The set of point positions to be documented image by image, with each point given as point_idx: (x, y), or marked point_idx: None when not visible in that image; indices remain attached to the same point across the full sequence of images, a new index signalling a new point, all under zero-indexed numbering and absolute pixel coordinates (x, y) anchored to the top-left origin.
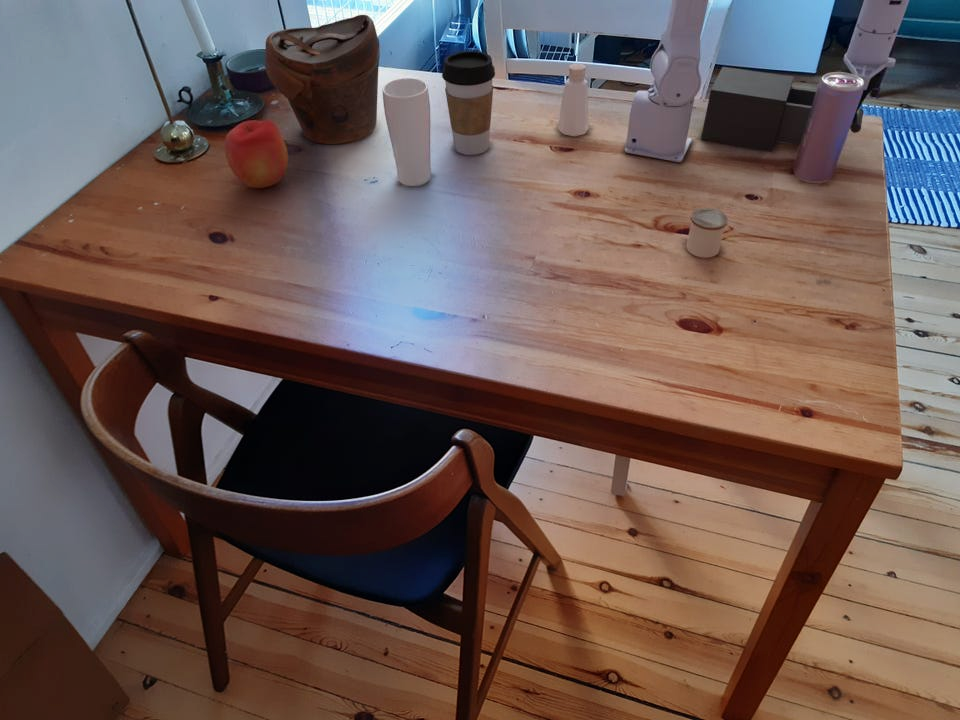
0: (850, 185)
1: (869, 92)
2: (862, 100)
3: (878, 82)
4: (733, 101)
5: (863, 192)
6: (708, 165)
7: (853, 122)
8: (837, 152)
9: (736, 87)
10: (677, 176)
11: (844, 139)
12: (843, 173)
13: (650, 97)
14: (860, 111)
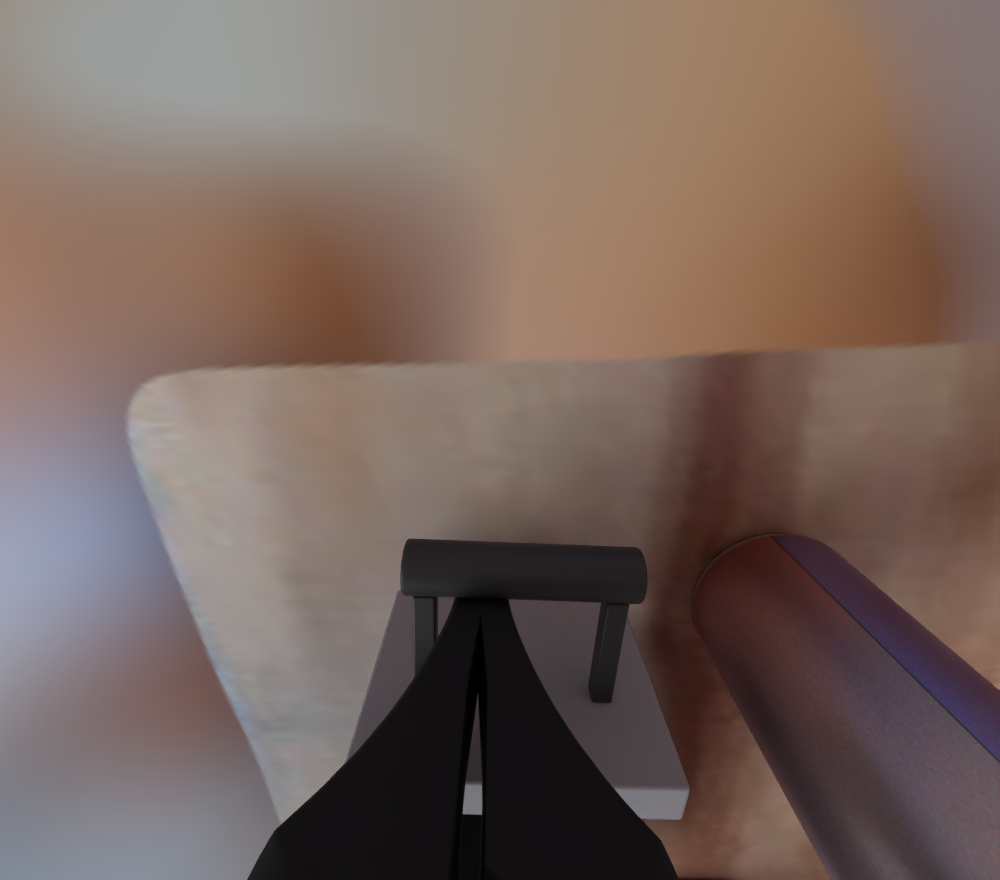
0: (827, 456)
1: (585, 753)
2: (546, 692)
3: (661, 875)
4: None
5: (884, 406)
6: (739, 831)
7: (598, 601)
8: (946, 645)
9: None
10: (815, 877)
11: (997, 693)
12: (727, 484)
13: None
14: (448, 580)
